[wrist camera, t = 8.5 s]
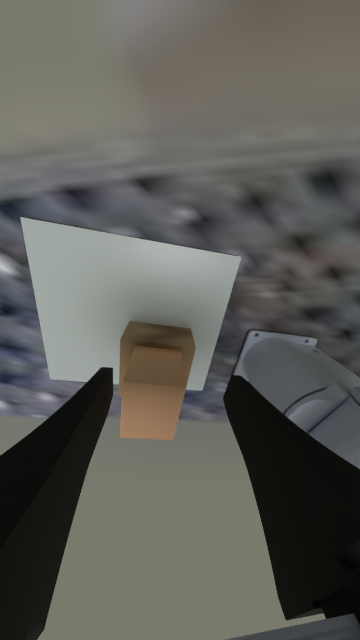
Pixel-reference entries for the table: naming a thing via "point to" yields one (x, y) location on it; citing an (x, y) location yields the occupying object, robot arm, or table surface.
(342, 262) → the table surface
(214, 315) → the baseplate
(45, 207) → the table surface
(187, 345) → the walnut block
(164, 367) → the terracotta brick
